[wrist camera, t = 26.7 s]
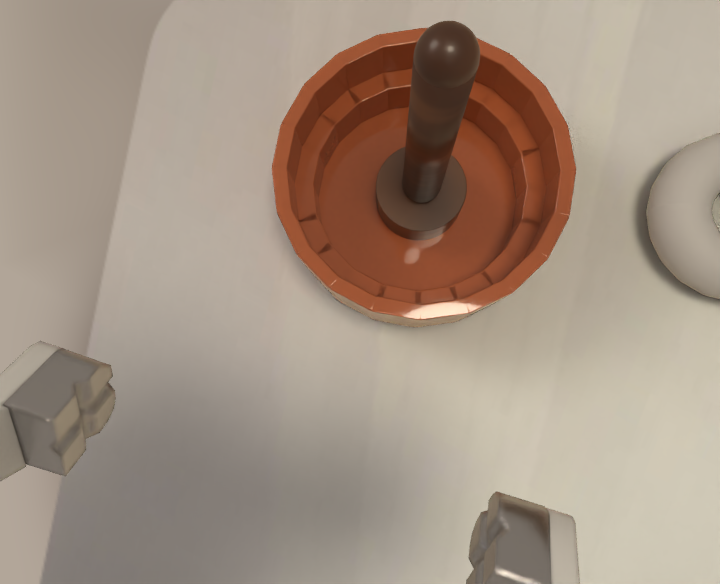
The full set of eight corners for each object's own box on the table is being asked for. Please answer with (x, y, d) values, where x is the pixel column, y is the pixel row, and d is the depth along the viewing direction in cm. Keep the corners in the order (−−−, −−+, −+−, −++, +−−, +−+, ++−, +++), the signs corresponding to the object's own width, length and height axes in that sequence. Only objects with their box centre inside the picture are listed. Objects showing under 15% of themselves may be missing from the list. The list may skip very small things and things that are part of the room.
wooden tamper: (382, 246, 35) (379, 128, 17) (371, 164, 35) (357, -25, 18) (467, 234, 34) (547, 104, 17) (454, 152, 35) (518, -49, 18)
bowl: (307, 342, 35) (291, 337, 29) (279, 102, 37) (258, 52, 31) (563, 308, 34) (600, 295, 28) (519, 67, 36) (545, 9, 30)
